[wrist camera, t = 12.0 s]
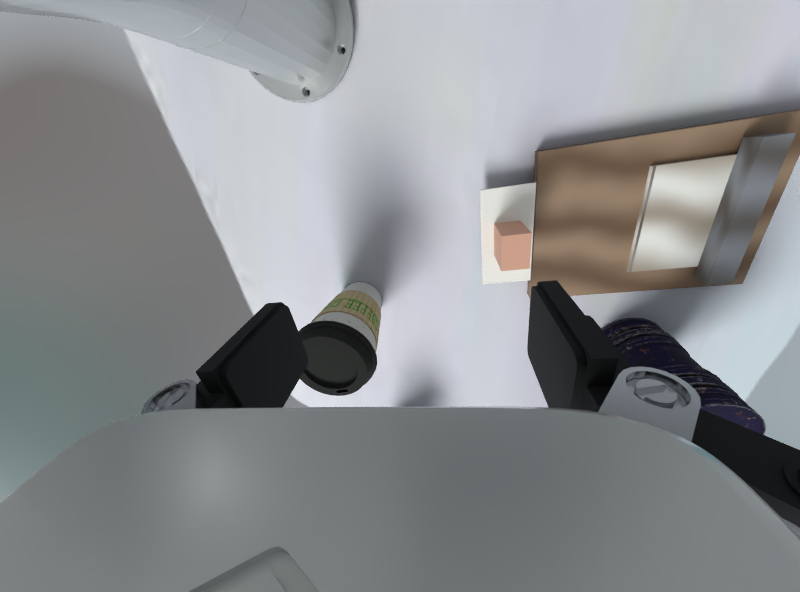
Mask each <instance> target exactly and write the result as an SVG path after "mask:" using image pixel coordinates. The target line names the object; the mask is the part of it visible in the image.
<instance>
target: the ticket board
mask: <svg viewBox="0 0 800 592" xmlns="http://www.w3.org/2000/svg"><path fill="white" fill-rule="evenodd" d="M799 155H800V110H793V111H787V112H781V113H774V114H768V115H762V116H755V117H749V118H743V119H736V120H730V121H724V122H718V123H711V124H705V125H699V126H692V127H686V128H680V129H673V130H667V131H661V132H654V133H648V134H642V135H635V136H629V137H623V138H617V139H610V140H604V141H598V142H591V143H585V144H579V145H572V146H566V147H560V148H553V149H547V150H541V151H535V168H534V182H536V194H535V210H534V227H533V243H532V260H531V276H530V280H528V291H527V294H528V295H529V297H530V299H531V288H532V286H537V283H538V282H540V281H552V280H557V281H558V282H559V283H560V285H561V286H562V287H563V288H564V290H565V291H566V292H567V293H568V295H569V296H574V295H588V294H602V293H617V292H631V291H645V290H659V289H673V288H687V287H702V286H716V285H730V284H742V283H743V281H744V279H745V277H746V274H747V272H748V270H749V268H750V265H751V263H752V261H753V259H754V256H755V254H756V252H757V250H758V247H759V245H760V243H761V241H762V238H763V236H764V234H765V232H766V229H767V227H768V225H769V223H770V220H771V218H772V216H773V214H774V211H775V209H776V207H777V205H778V202H779V200H780V198H781V196H782V193H783V191H784V189H785V187H786V184H787V182H788V180H789V178H790V175H791V173H792V171H793V169H794V166H795V164H796V162H797V160H798V157H799Z"/></svg>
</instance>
